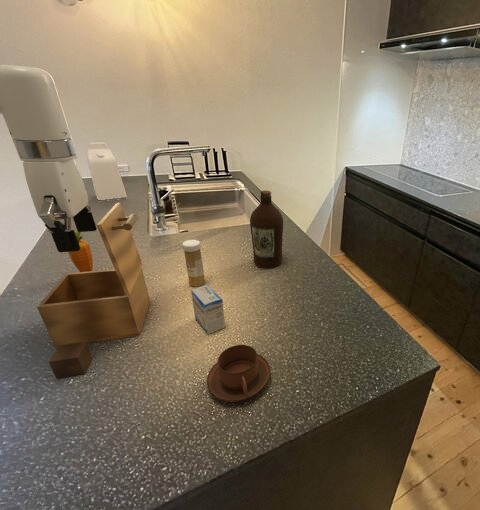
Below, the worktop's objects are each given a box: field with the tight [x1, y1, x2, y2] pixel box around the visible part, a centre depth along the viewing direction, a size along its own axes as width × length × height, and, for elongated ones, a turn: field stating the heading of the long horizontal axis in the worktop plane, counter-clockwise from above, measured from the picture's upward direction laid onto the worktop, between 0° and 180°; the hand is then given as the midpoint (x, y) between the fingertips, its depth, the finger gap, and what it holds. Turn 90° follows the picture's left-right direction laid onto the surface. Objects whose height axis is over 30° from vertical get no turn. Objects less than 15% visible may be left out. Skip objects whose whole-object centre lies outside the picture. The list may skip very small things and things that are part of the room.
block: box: [48, 341, 93, 380], centre depth 60 cm, size 4×4×4 cm
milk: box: [86, 142, 128, 201], centre depth 149 cm, size 12×12×26 cm
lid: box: [96, 202, 144, 295], centre depth 68 cm, size 16×14×4 cm
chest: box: [36, 267, 151, 349], centre depth 71 cm, size 16×14×11 cm
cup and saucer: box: [206, 344, 271, 403], centre depth 60 cm, size 12×12×6 cm
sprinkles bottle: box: [181, 239, 206, 287], centre depth 88 cm, size 5×5×14 cm
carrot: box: [67, 230, 94, 272], centre depth 87 cm, size 5×5×15 cm
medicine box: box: [190, 284, 226, 335], centre depth 74 cm, size 8×4×9 cm, turn 44°
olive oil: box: [249, 190, 284, 269], centre depth 101 cm, size 11×11×25 cm
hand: (79, 240), depth 60 cm, fingers open, 9 cm apart
